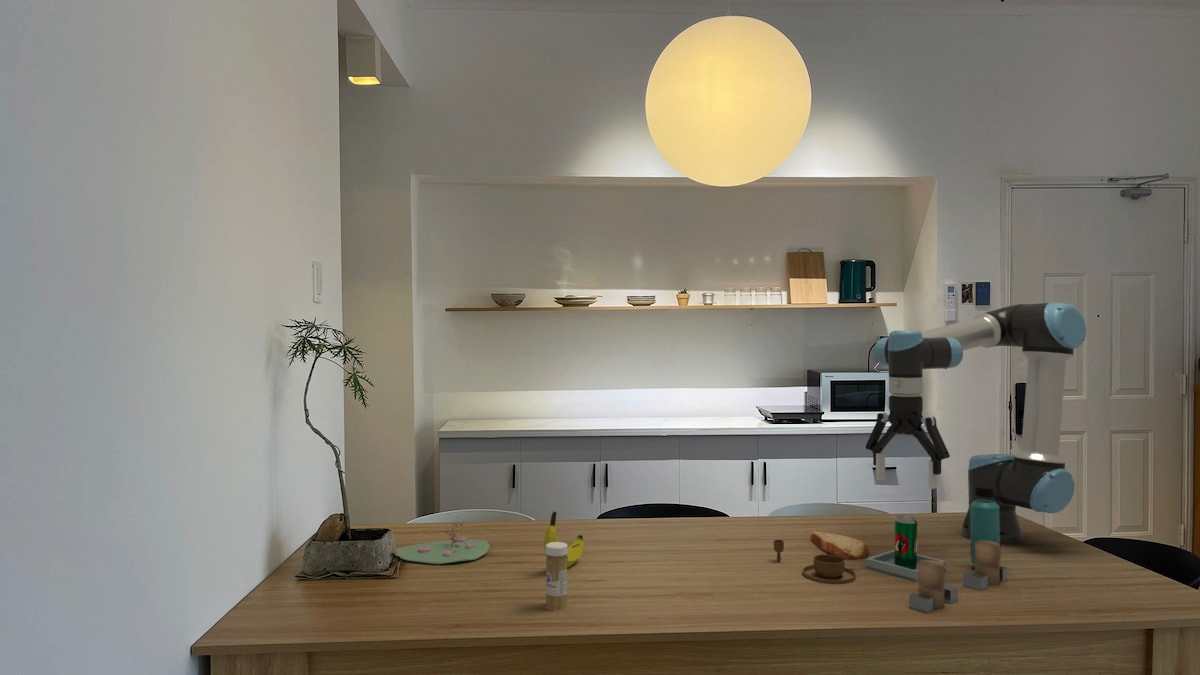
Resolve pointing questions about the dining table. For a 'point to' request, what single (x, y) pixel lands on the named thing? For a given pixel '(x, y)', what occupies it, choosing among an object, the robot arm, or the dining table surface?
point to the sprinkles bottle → (556, 576)
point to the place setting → (822, 566)
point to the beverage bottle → (984, 519)
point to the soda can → (905, 541)
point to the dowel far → (988, 560)
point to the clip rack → (954, 590)
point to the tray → (887, 566)
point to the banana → (550, 536)
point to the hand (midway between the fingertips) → (906, 483)
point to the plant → (445, 550)
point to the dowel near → (931, 581)
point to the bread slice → (840, 545)
